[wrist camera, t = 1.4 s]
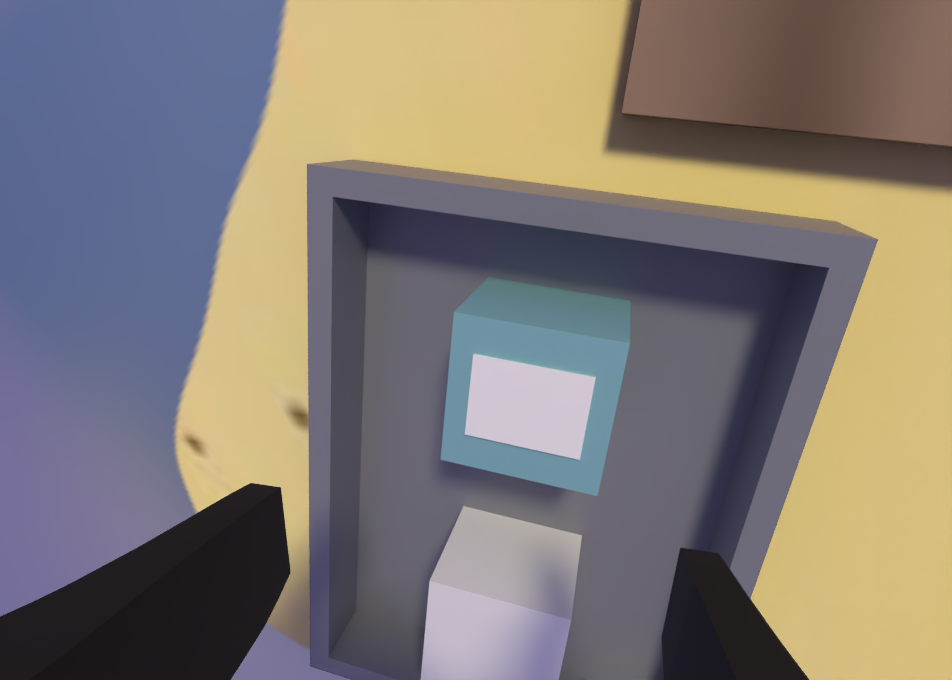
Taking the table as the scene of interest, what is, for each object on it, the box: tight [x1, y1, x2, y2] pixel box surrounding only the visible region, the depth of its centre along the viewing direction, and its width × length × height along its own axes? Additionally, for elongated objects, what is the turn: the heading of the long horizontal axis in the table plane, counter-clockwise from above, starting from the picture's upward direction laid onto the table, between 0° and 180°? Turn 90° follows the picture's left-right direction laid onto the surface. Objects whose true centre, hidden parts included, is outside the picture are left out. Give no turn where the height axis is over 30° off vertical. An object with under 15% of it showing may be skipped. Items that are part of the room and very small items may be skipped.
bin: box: [307, 160, 878, 680], centre depth 20 cm, size 15×20×3 cm
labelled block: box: [441, 277, 630, 496], centre depth 17 cm, size 4×4×4 cm
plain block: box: [421, 506, 582, 680], centre depth 20 cm, size 4×4×4 cm
